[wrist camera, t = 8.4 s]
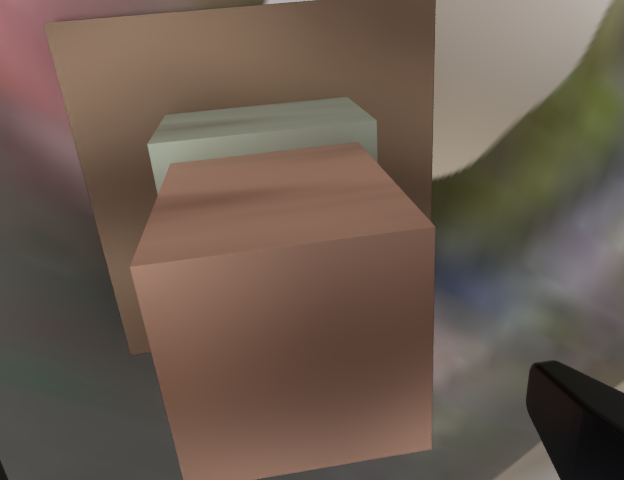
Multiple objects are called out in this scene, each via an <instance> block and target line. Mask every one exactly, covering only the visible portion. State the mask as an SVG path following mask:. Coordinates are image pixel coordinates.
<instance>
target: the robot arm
mask: <svg viewBox="0 0 624 480" xmlns="http://www.w3.org/2000/svg"><path fill="white" fill-rule="evenodd" d="M526 406H527V410H528V413H529V416H530V418H531V420H532V422H533V424H534V426H535V428H536V430H537V432H538V434H539V436H540V438H541V440H542V442H543V445H544V447H545V449H546V451H547V453H548V454H549V457H550V459H551V461H552V463H553V465H554V467H555V469H556V471H557V473H558V476H559V478H560V479H561V480H624V393H623V392H621V391H618V390H616V389H614V388H612V387H610V386H608V385H606V384H604V383H602V382H600V381H598V380H596V379H594V378H592V377H589V376H587V375H585V374H583V373H581V372H579V371H577V370H575V369H573V368H571V367H569V366H567V365H565V364H562V363H560V362H558V361H555V360H551V361H544V362H537V363H534V364H532V365H531V367H530V370H529V377H528V386H527V394H526ZM0 480H8V478H7V475H6V473H5V471H4V468H3V466H2V464H1V461H0Z"/></svg>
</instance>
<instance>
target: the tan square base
mask: <svg viewBox="0 0 624 480" xmlns="http://www.w3.org/2000/svg"><path fill="white" fill-rule="evenodd" d="M435 2H436V0H315V1H303V2H291V3H279V4H266V5H254V6H242V7H230V8H218V9H205V10H193V11H181V12H169V13H156V14H144V15H132V16H120V17H108V18H95V19H83V20H71V21H59V22H47V23H43V25H44V28H45V32H46V36H47V40H48V44H49V47H50V51H51V55H52V59H53V62H54V66H55V70H56V74H57V78H58V81H59V85H60V89H61V93H62V96H63V100H64V104H65V108H66V112H67V115H68V119H69V123H70V127H71V131H72V134H73V138H74V142H75V146H76V149H77V153H78V157H79V161H80V165H81V168H82V172H83V176H84V180H85V183H86V187H87V191H88V195H89V199H90V202H91V206H92V210H93V214H94V218H95V221H96V225H97V229H98V233H99V236H100V240H101V244H102V248H103V252H104V255H105V259H106V263H107V267H108V271H109V274H110V278H111V282H112V286H113V289H114V293H115V297H116V301H117V305H118V308H119V312H120V316H121V320H122V323H123V327H124V331H125V335H126V339H127V342H128V346H129V350H130V354H131V355H135V354H142V353H149V352H151V349H150V345H149V341H148V337H147V333H146V329H145V325H144V321H143V317H142V313H141V309H140V305H139V301H138V298H137V294H136V290H135V286H134V282H133V278H132V274H131V270H130V265H131V262H132V260H133V257H134V255H135V252H136V250H137V247H138V245H139V242H140V240H141V237H142V234H143V232H144V229H145V227H146V224H147V222H148V219H149V217H150V214H151V211H152V209H153V206H154V204H155V201H156V199H157V196H158V194H159V191H160V189H161V186H162V183H163V181H164V178H165V176H166V173H167V171H168V168H169V166H170V164H172V163H180V162H189V161H198V160H206V159H215V158H224V157H233V156H241V155H250V154H259V153H267V152H276V151H285V150H294V149H302V148H311V147H320V146H328V145H337V144H346V143H355V142H358V143H359V144H360V145H361V146H362V147H363V148H364V149H365V150H366V151H367V152H368V153H369V155H370V156H371V157H372V158H373V159H374V160H375V161H376V162H377V163H378V164H379V166H380V167H381V168H382V169H383V170H384V171H385V172H386V173H387V174H388V175H389V176H390V178H391V179H392V180H393V181H394V182H395V183H396V184H397V185H398V186H399V187H400V188H401V190H402V191H403V192H404V193H405V194H406V195H407V196H408V197H409V198H410V199H411V200H412V202H413V203H414V204H415V205H416V206H417V207H418V208H419V209H420V210H421V211H422V212H423V214H424V215H425V216H426V217H427V218H428V219H429V220H430V221H431V195H432V145H433V100H434V97H433V96H434V50H435V5H436V3H435Z"/></svg>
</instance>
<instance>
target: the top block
mask: <svg viewBox="0 0 624 480" xmlns="http://www.w3.org/2000/svg"><path fill="white" fill-rule="evenodd" d="M130 270H131V274H132V278H133V282H134V286H135V290H136V294H137V298H138V301H139V305H140V309H141V313H142V317H143V321H144V325H145V329H146V333H147V337H148V341H149V345H150V349H151V353H152V357H153V361H154V365H155V369H156V373H157V377H158V381H159V385H160V389H161V393H162V396H163V400H164V404H165V408H166V412H167V416H168V420H169V424H170V428H171V432H172V436H173V440H174V444H175V448H176V452H177V456H178V460H179V464H180V468H181V472H182V476H183V480H255V479H261V478H267V477H272V476H278V475H284V474H290V473H296V472H302V471H308V470H313V469H319V468H325V467H331V466H337V465H343V464H348V463H354V462H360V461H366V460H372V459H378V458H384V457H389V456H395V455H401V454H407V453H413V452H419V451H425V450H430V449H431V448H432V392H433V337H434V282H435V226H434V225H433V223H432V222H431V221H430V220H429V219H428V218H427V217H426V216H425V215H424V214H423V212H422V211H421V210H420V209H419V208H418V207H417V206H416V205H415V204H414V203H413V202H412V200H411V199H410V198H409V197H408V196H407V195H406V194H405V193H404V192H403V191H402V190H401V188H400V187H399V186H398V185H397V184H396V183H395V182H394V181H393V180H392V179H391V178H390V176H389V175H388V174H387V173H386V172H385V171H384V170H383V169H382V168H381V167H380V166H379V164H378V163H377V162H376V161H375V160H374V159H373V158H372V157H371V156H370V155H369V153H368V152H367V151H366V150H365V149H364V148H363V147H362V146H361V145H360V144H359V143H358V142H355V143H346V144H337V145H328V146H320V147H311V148H302V149H294V150H285V151H276V152H267V153H259V154H250V155H241V156H233V157H224V158H215V159H206V160H198V161H189V162H180V163H172V164H170V166H169V168H168V171H167V173H166V176H165V178H164V181H163V183H162V186H161V189H160V191H159V194H158V196H157V199H156V201H155V204H154V206H153V209H152V211H151V214H150V217H149V219H148V222H147V224H146V227H145V229H144V232H143V234H142V237H141V240H140V242H139V245H138V247H137V250H136V252H135V255H134V257H133V260H132V262H131V265H130Z"/></svg>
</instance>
